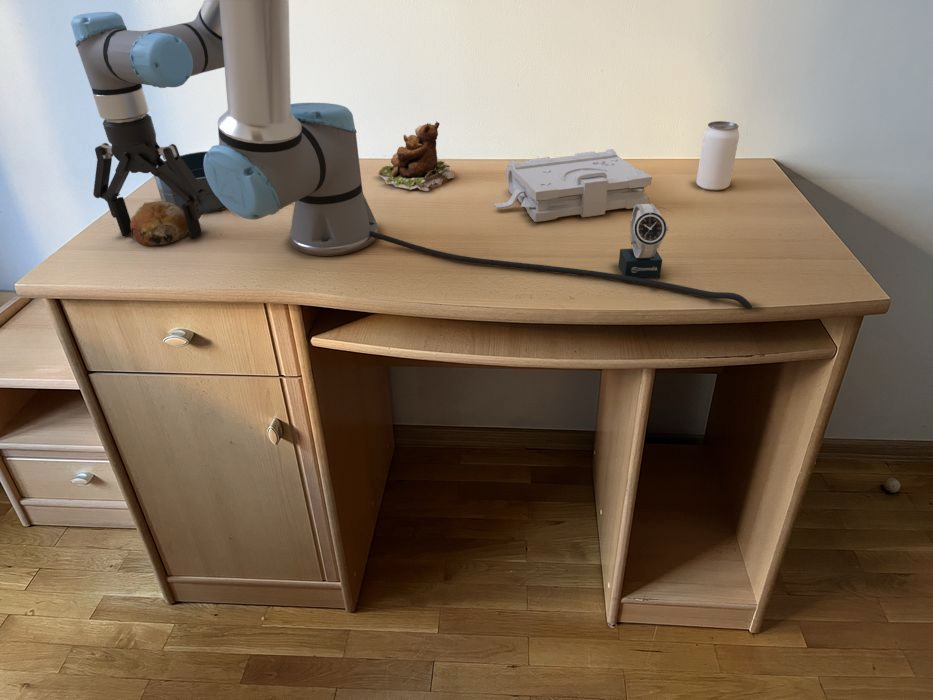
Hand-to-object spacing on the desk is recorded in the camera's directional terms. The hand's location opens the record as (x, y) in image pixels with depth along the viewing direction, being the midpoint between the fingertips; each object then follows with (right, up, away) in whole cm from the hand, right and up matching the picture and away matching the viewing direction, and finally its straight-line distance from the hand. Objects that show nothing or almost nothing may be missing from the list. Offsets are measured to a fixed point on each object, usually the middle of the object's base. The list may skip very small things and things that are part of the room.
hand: (162, 234), depth 124 cm
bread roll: (0, 0, 0) cm, 0 cm away
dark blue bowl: (+3, +10, +15) cm, 18 cm away
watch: (+83, -9, -17) cm, 86 cm away
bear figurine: (+45, +15, +21) cm, 52 cm away
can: (+106, +12, +12) cm, 107 cm away
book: (+75, +8, +8) cm, 76 cm away
